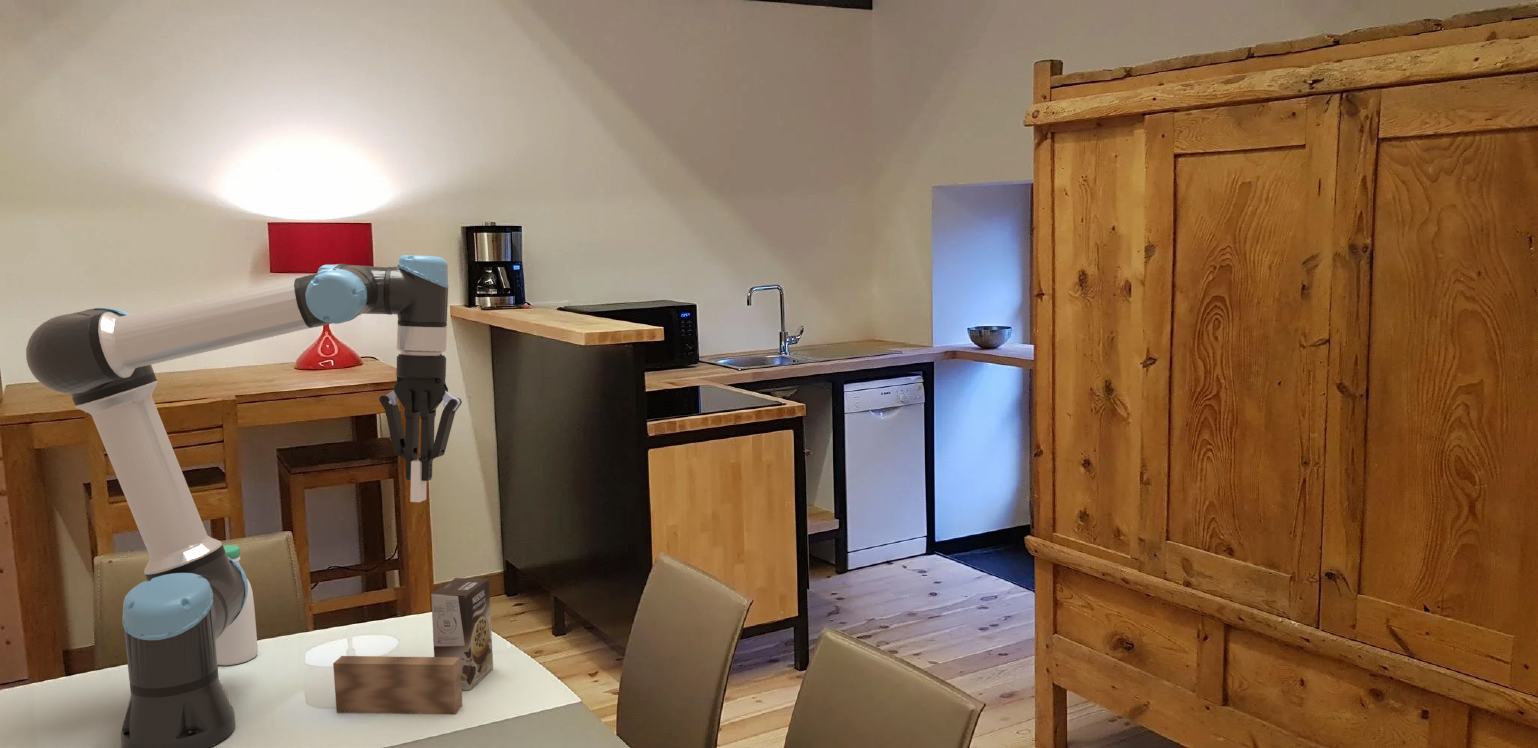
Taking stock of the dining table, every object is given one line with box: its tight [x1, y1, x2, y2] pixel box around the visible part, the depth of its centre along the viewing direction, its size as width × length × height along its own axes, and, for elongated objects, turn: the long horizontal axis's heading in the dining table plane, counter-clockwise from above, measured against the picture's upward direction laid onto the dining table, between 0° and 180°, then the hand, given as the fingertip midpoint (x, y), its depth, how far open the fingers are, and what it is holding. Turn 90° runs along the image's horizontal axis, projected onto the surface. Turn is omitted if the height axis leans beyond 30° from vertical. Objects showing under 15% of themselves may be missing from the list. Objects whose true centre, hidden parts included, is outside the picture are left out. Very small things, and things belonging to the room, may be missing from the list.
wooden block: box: [332, 655, 463, 715], centre depth 178 cm, size 19×3×8 cm, turn 86°
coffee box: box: [430, 577, 494, 691], centre depth 189 cm, size 9×6×16 cm
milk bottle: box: [216, 544, 259, 666], centre depth 199 cm, size 8×8×20 cm
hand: (418, 500), depth 182 cm, fingers closed
